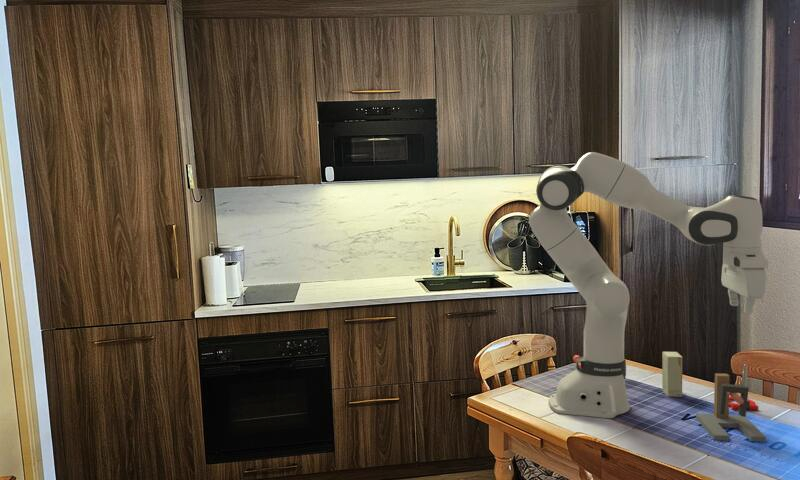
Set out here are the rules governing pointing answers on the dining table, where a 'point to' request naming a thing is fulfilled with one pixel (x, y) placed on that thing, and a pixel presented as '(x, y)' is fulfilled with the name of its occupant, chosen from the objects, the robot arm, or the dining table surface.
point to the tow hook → (750, 403)
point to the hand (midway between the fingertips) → (740, 309)
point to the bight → (734, 389)
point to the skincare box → (672, 374)
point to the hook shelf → (727, 416)
